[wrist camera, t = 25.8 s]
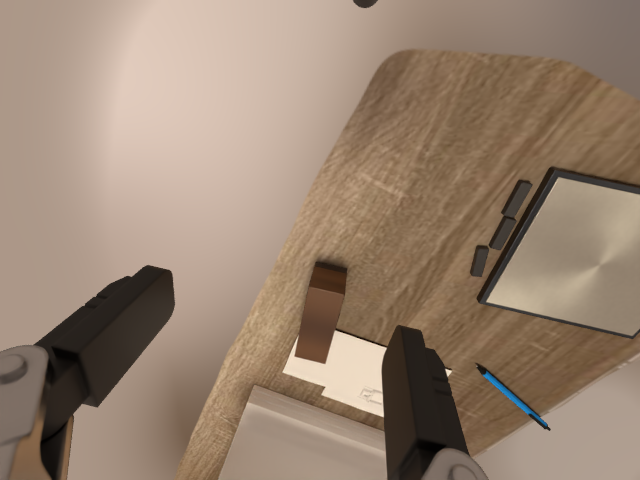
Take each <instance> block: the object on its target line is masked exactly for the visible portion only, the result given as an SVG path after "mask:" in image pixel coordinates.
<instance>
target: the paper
mask: <svg viewBox="0 0 640 480" xmlns="http://www.w3.org/2000/svg"><path fill="white" fill-rule="evenodd" d="M298 336H299V335H298ZM297 341H298V337H297V339H296V341H295V344H294V346H293V348H292V351H291V353H290V356H289V358H288V361H287V363H286V365H285V368H284V370H283V373H286V374H288V375H291V376H294V377H297V378H300V379H303V380H306V381H309V382H312V383H316V384H319V385H322V386H325V389H324V391H323V393H322V394H321V395H323V396H326V397H329V398H331V399H334V400H337V401H340V402H342V403H345V404H348V405H350V406H353V407H355V408H358V409H361V410H364V411H367V412H370V413H373V414H376V415H379V416H382V417H384V411H383V392H382V374H381V369H382V361H383V357H384V354H385V351H386V349H387V348H385V347H382V346H379V345H376V344H373V343H370V342H367V341H364V340H362V339H359V338H356V337H353V336H350V335H347V334H344V333H341V332H338V331H335V332H334V335H333V339H332V342H331V346H330V350H329V353H328V357H327V360H326V364H322V363H318V362H314V361H310V360H306V359H302V358H298V357H294V355H295V350H296V346H297ZM445 370H446V373H447V377H448V376H449V374H450V373H451V372H452V371H450V370H447V369H445Z"/></svg>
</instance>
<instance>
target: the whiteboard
mask: <svg viewBox="0 0 640 480" xmlns="http://www.w3.org/2000/svg"><path fill="white" fill-rule="evenodd" d="M477 300H478V302H479V303H480V304H484V305H489V306H493V307H497V308H502V309H506V310H510V311H514V312H519V313H523V314H527V315H532V316H536V317H540V318H544V319H549V320H553V321H557V322H562V323H566V324H570V325H574V326H579V327H583V328H587V329H592V330H596V331H600V332H604V333H609V334H613V335H617V336H622V337H626V338H630V339H633V338H634V337H635V336H636V335H637V334H638V333H639V332H640V187H638V186H633V185H628V184H624V183H619V182H614V181H610V180H605V179H600V178H596V177H591V176H586V175H582V174H577V173H572V172H568V171H563V170H558V169H554V168H550V169H549V170H548V172H547V174H546V176H545V177H544V179H543V181H542V183H541V185H540V186H539V188H538V190H537V192H536V194H535V195H534V197H533V199H532V201H531V202H530V204H529V206H528V208H527V210H526V211H525V213H524V215H523V217H522V219H521V220H520V222H519V224H518V226H517V227H516V229H515V231H514V233H513V235H512V236H511V238H510V240H509V242H508V244H507V245H506V247H505V249H504V251H503V252H502V254H501V256H500V258H499V260H498V261H497V263H496V265H495V267H494V268H493V270H492V272H491V274H490V276H489V277H488V279H487V281H486V283H485V285H484V286H483V288H482V290H481V292H480V293H479V295H478V297H477Z"/></svg>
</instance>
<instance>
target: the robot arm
mask: <svg viewBox="0 0 640 480" xmlns="http://www.w3.org/2000/svg"><path fill="white" fill-rule="evenodd" d="M174 306H175V300H174V288H173V277H172V273H171V271H170V270H167V269H163V268H158V267H154V266H150V265H147V266H145V267H143V268H142V269H141V270H140V271H138V272H137V273H136V274H135V275H134V276H132V277H130V276H126V277H124V278H122V279H120V280H117V281H115V282H113V283H111V284H109V285H108V286H107V287H105V288H104V289H103V290H102V291H101V292H99V293H98V294H97V296H96V297H93V298H92V299H90V300H89V301H88V302H87V303H86V304H85V306H82V307H81V308H79V309H78V310H77V311H76V312H74V313H73V314H72V315H71V316H69V317H68V318H67V319H66V320H64V321H63V322H62V323H61V324H60V325H58V326H57V327H56V328H54V329H53V330H52V331H51V332H49V333H48V334H47V335H46V336H44V337H43V338H42V339H41V340H39V341H38V342H37V343H35V344H34V345H23V346H17V347H13V348H9V349H6V350H3V351H1V352H0V480H67V474H68V466H69V457H70V448H71V440H72V431H73V430H72V429H73V422H74V416H73V414H74V412H75V411H76V410H77V409H78V408H79V407H80V406H81V404H86V405H90V406H94V407H98V406H99V405H100V404H101V403H102V401H103V400H104V399H105V398H106V396H107V395H108V394H109V393H110V392H111V390H112V389H113V388H114V387H115V385H116V384H117V383H118V382H119V380H120V379H121V378H122V377H123V376H124V374H125V373H126V372H127V371H128V369H129V368H130V367H131V366H132V365H133V363H134V362H135V361H136V360H137V358H138V357H139V356H140V355H141V353H142V352H143V351H144V350H145V349H146V347H147V346H148V345H149V344H150V342H151V341H152V340H153V339H154V337H155V336H156V335H157V334H158V332H159V331H160V330H161V329H162V328H163V326H164V325H165V324H166V323H167V322H168V320H169V319H170V317H171V315H172V313H173V310H174ZM381 374H382V392H383V411H384V429H385V448H386V466H387V480H489V479H488V477H487V476H486V474H485V473H484V471H483V470H482V469H481V467H480V466H479V465H478V464H477V463H476V462H475V461H474V460H473V459H472V458H471V457H470V455H469V452H468V449H467V446H466V442H465V439H464V435H463V431H462V428H461V424H460V421H459V417H458V413H457V410H456V406H455V402H454V399H453V397H452V391H451V388H450V384H449V383H448V377H447V373H446V370H445V366H444V364H443V362H442V361H441V359H440V358H439V356H438V355H437V353H436V352H435V350H433V349H429V348H425V343H424V339H423V334H422V332H421V330H418V329H414V328H409V327H405V326H401V325H398V326H397V327H396V328H395V331H394V333H393V335H392V338H391V340H390V342H389V344H388V347H387V349H386V351H385V354H384V357H383V361H382V369H381Z"/></svg>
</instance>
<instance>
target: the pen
mask: <svg viewBox="0 0 640 480" xmlns="http://www.w3.org/2000/svg"><path fill="white" fill-rule="evenodd" d="M476 367H477V368H478V370H479V371H480V373H481V374H482V375H483V376H484V377H485V378H486V379H488V380H489V381H490V382H491V383H492V384H493V385H495V386H496V387H497V388H498V389H499V390H500V391H501V392H503V393H504V394H505V395H506V396H507V397H508V398H510V399H511V400H512V401H513V402H514V403H515V404H516V405H518V406H519V407H520V408H521V409H522V410H523V411H525V412H526V413H527V414H528V415H529V416H530V417H531V418H532V419H534V420H535V421H536V422H537V423H538V424H539V425H541V426H542V427H543V428H544V429H548V430H549V431H550V428H549V427H548V425H547V423H546V422H544V421H543V420H542V419H541V418H540V417H539V416H538V415H536V414H535V413H534V412H533V411H532V410H531V409H530V408H528V407H527V406H526V405H525V404H524V403H523V402H522V401H520V400H519V399H518V398H517V397H516V396H515V395H514V394H512V393H511V392H510V391H509V390H508V389H507V388H506V387H504V386H503V385H502V384H501V383H500V382H499V381H498V380H496V379H495V378H494V377H493V376H492V375H491V374H490V373H488V372H487V371H486V370H485V369H483V368H481V367H479V366H476Z"/></svg>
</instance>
